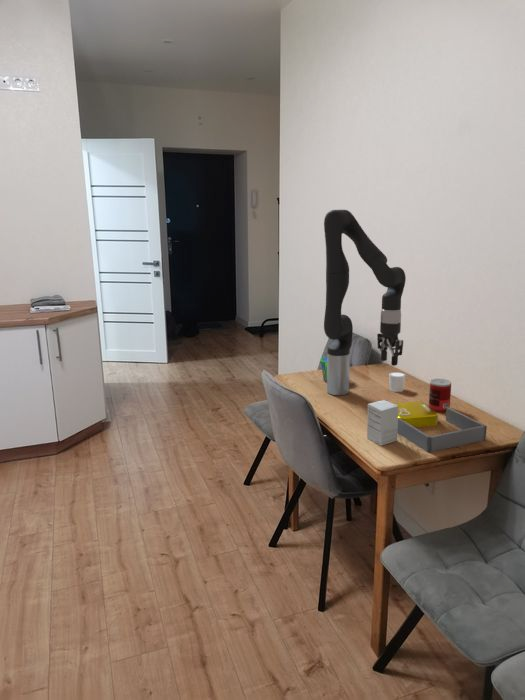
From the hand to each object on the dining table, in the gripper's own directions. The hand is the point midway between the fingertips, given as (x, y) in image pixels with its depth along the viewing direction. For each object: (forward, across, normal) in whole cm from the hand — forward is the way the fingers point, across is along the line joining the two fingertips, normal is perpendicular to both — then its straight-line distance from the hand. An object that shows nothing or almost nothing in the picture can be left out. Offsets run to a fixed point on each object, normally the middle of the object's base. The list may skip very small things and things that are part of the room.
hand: (389, 362), depth 201 cm
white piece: (+18, -14, +14) cm, 27 cm away
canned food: (+18, +11, +16) cm, 26 cm away
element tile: (+18, +15, 0) cm, 24 cm away
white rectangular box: (+18, +26, -20) cm, 37 cm away
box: (+18, +31, 0) cm, 35 cm away
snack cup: (+18, -37, -5) cm, 41 cm away
